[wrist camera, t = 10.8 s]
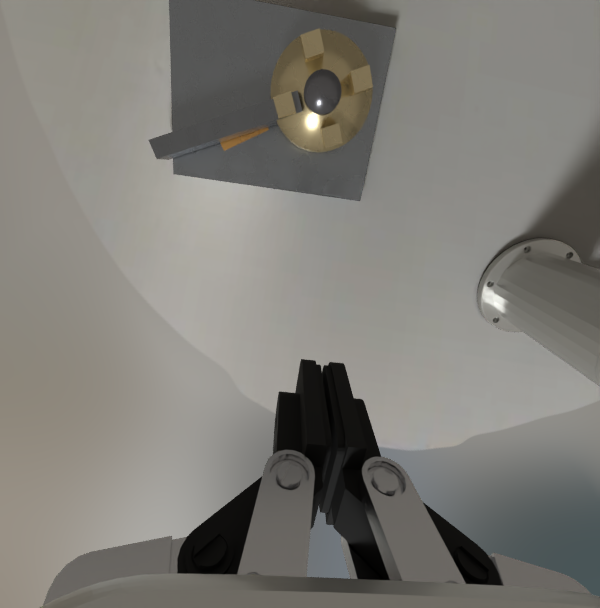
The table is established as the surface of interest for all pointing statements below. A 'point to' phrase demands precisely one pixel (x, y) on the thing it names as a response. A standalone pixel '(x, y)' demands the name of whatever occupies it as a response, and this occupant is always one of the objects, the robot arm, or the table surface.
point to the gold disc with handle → (295, 100)
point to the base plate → (262, 93)
